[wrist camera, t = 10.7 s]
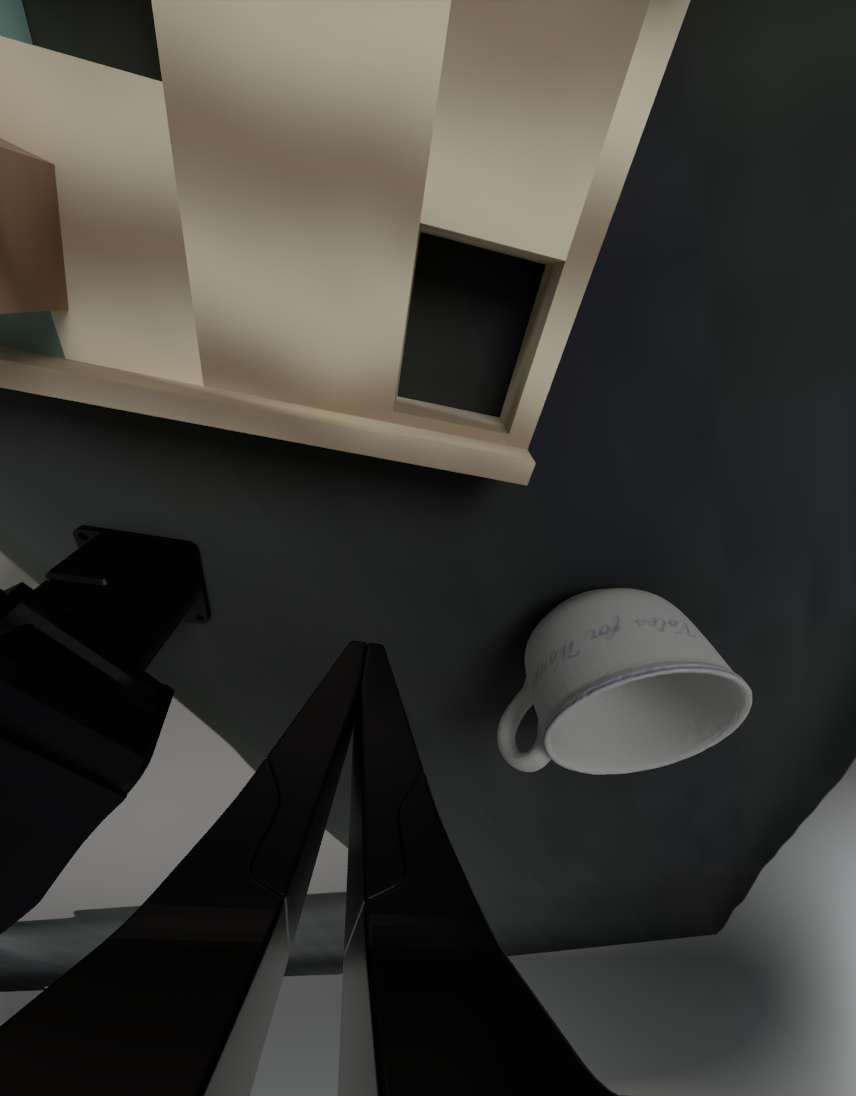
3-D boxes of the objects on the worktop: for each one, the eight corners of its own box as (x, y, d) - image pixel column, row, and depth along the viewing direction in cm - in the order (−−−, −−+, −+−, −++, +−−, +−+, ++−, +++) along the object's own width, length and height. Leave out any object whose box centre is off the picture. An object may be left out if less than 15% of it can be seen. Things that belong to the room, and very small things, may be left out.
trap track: (509, 450, 19) (529, 490, 15) (-73, 336, 16) (-222, 351, 12) (678, -54, 11) (814, -237, 7) (-487, -499, 8) (-1366, -1255, 4)
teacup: (658, 537, 22) (756, 643, 16) (682, 644, 28) (763, 756, 21) (448, 618, 26) (456, 731, 19) (506, 698, 31) (528, 807, 25)
